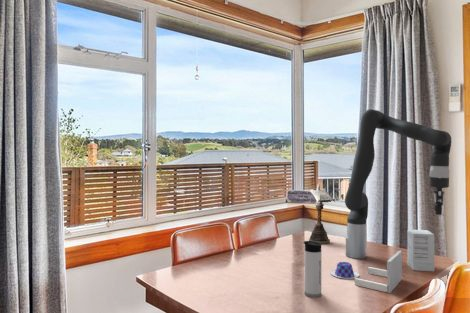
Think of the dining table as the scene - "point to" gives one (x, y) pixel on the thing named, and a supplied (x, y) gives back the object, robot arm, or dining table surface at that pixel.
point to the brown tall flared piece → (319, 231)
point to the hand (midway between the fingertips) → (438, 212)
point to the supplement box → (421, 250)
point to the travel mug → (312, 268)
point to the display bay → (385, 275)
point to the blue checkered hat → (344, 271)
